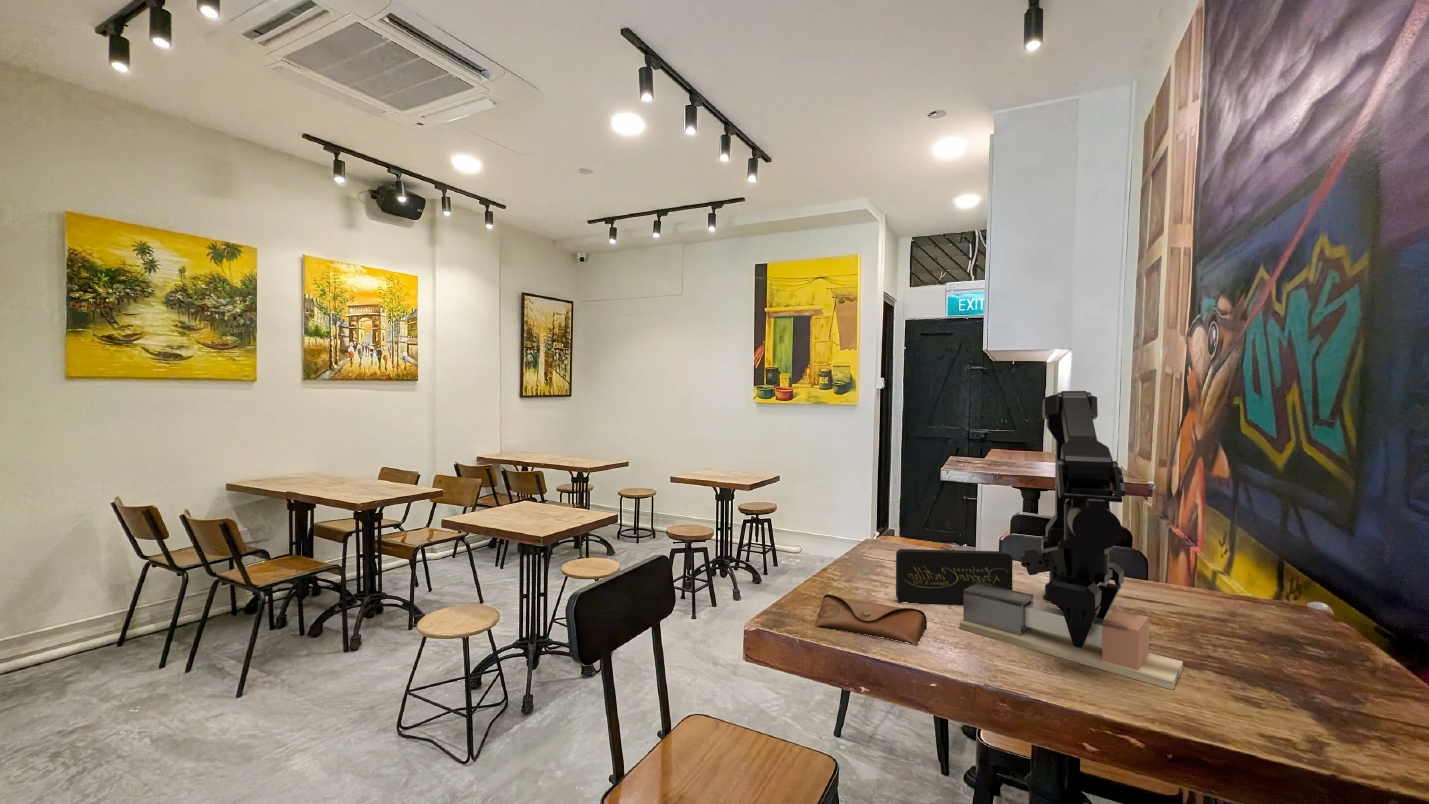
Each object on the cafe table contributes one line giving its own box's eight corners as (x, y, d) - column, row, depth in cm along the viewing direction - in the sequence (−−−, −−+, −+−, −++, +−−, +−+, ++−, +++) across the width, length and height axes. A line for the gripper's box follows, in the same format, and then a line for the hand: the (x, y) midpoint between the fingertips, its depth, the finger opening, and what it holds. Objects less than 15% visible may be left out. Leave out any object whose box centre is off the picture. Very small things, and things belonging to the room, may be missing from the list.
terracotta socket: (1114, 645, 86) (1114, 609, 86) (1148, 654, 83) (1148, 617, 83) (1102, 660, 81) (1102, 621, 81) (1138, 670, 78) (1138, 630, 78)
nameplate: (1008, 604, 107) (1008, 551, 107) (1012, 607, 105) (1012, 554, 105) (895, 600, 109) (896, 548, 109) (898, 604, 107) (898, 551, 107)
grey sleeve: (977, 611, 100) (977, 582, 100) (1033, 626, 93) (1033, 594, 93) (963, 620, 96) (963, 589, 96) (1020, 636, 89) (1020, 603, 89)
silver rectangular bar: (1008, 615, 95) (1008, 597, 95) (1132, 646, 82) (1132, 626, 82) (1002, 619, 93) (1002, 601, 93) (1128, 652, 80) (1128, 631, 80)
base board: (981, 615, 101) (981, 609, 101) (1183, 668, 81) (1182, 661, 81) (959, 628, 95) (959, 622, 95) (1172, 689, 74) (1172, 682, 74)
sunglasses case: (809, 626, 95) (815, 586, 98) (818, 635, 100) (823, 597, 104) (922, 647, 87) (924, 603, 90) (926, 655, 93) (928, 613, 96)
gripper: (1046, 519, 98) (1046, 609, 98) (1007, 535, 85) (1007, 639, 85) (1124, 529, 90) (1124, 627, 89) (1094, 549, 77) (1094, 664, 77)
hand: (1086, 638), depth 85 cm, fingers open, 9 cm apart
